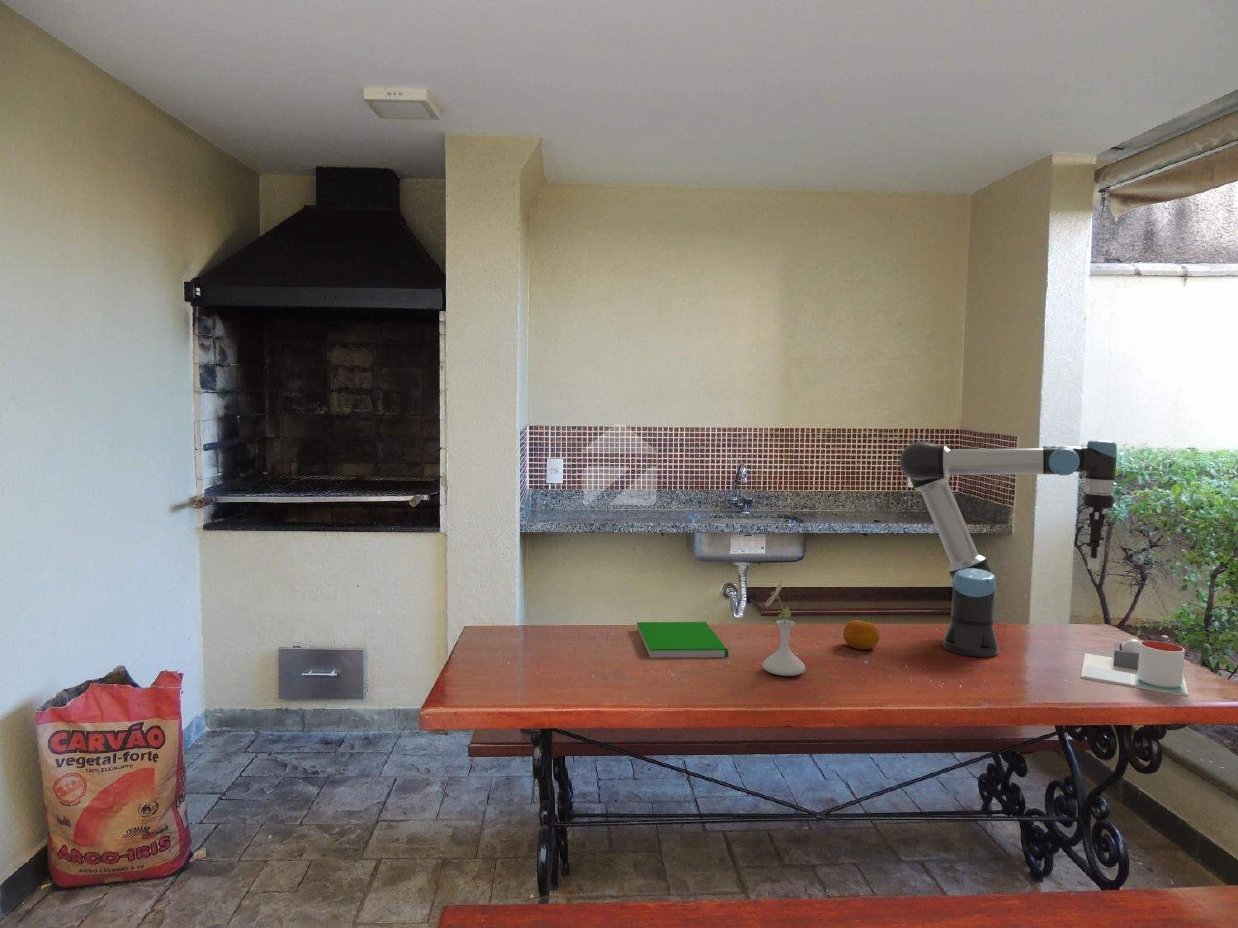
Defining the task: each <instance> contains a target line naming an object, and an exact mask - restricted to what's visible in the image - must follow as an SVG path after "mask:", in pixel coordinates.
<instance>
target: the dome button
mask: <svg viewBox="0 0 1238 928" xmlns="http://www.w3.org/2000/svg"><path fill="white" fill-rule="evenodd" d="M1140 642H1141V640H1139V639H1136V638H1132V639H1128V640H1126V641H1122V642H1121V644H1122V651H1128V652H1135V653H1139V648H1140Z"/></svg>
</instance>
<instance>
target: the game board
mask: <svg viewBox="0 0 1238 928" xmlns="http://www.w3.org/2000/svg"><path fill="white" fill-rule="evenodd" d="M1113 664H1114V657H1110V656H1104V655H1097V654H1092V653H1087V652H1086V653H1084V658H1083V665H1082V670H1081V676H1080V678H1081V679H1085V680H1090V681H1095V682H1101V683H1109V684H1113V685H1118V686H1125V687H1131V688H1137V689H1143V690H1148V691H1154V692H1160V693H1164V694H1165V693H1167V694H1173V695H1179V696H1183V697H1188V696H1189V692H1188V688H1187V683H1186V678H1185V674H1184V672H1183V679H1182V684H1181V685H1180V686H1179V687H1176V688H1163V687H1157V686H1153V685H1149V684H1146V683H1144V682H1142V681H1141V680H1140V679H1139V678H1138V670H1134V669H1128V668H1122V667H1116V666H1113Z"/></svg>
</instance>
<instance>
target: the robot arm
mask: <svg viewBox="0 0 1238 928" xmlns="http://www.w3.org/2000/svg"><path fill="white" fill-rule="evenodd" d="M1117 445H1118V444H1117V443H1116V442H1114V441H1112V440H1111V441H1110V440H1095V439H1094V440H1092V439H1091V440H1089V441H1088V442H1087V444H1086V446H1073V445H1055V444H1054V445H1053V444H1052V445H1043V446H1042V447H1038V448H1037V447H1036V448H1032V447H1031V448H1027V447H1025V448H1023V447H1022V448H1021V447H1020V448H962V449H961V448H956V449H955V448H953V449H950V448H949V447H947V446H946V445H937V444H936V443H935V442H932V441H928V440H920V441H915V442H914V443H911V444H909V445H908V446H906V447H905V448H904V449H903V450H902V452H901V454H900V456H899V467H900V469H901V471H902V473H903V474H904V475H905V476H907V477H908V478H909V480H910V482H911V484H912V488H913V489H914V490H915V491H918V492H919V493H921V496H922V498H923V501H924V504H925V505H926V508H927V510H928V512H929V515H930V517H931V519H932V523H933V524H934V526H935V529H936V531H937V534H938V536H939V539H940V540H941V543H942V546H943V548H944V551H945V552H946V555H947V557H948V559H949V562H950V565H949V567H948V568H947V569H948V572H949V575H950V577H951V580H952V596H951V598H952V599H951V617H950V623H949V626H948V628H947V630H946V632H945V635H944V637H943V643H942V645H943V646H942V647H943V648H944V649H945V650H946V651H949V652H951V653H953V654H958V655H961V656H969V657H975V658H976V657H977V658H990V657H995V656H997V655H999V643H998V640H997V637H996V636H997V635H996V632H995V630H994V619H995V618H994V615H995V605H996V604H995V602H996V596H997V593H998V590H999V583H998V578H997V577H996V575H995V573H994V572H993V571H992V570H991V568H990V565H989V562H988V559H987V558H986V557H985V556H983V555H981V554H979V553H978V550H977V548H976V545H975V542H974V540H973V538H972V536H971V534H970V531H969V528H968V527H967V524H966V522H965V519H964V518H963V515H962V513H961V510H960V507H959V506H958V503H957V501H956V498H955V495H954V493H953V491H952V489H951V486H950V484H949V480H950V478H951V476H953V475H957V476H958V475H959V476H960V475H961V476H962V475H966V476H967V475H971V476H972V475H973V476H974V475H975V476H976V475H1058V476H1069V475H1072V474H1074V473H1085V477H1084V486H1083V487H1084V489H1083V491H1084V492H1086V493H1084V494H1083V504H1082V505H1083V506H1084V507H1088V508H1092V511H1090V512H1089V517H1088V519H1089V528H1090V536H1089V542H1086V547H1088V555H1087V570H1088V569H1089V570H1096V571H1098V570H1099V565H1100V563H1101V551H1102V550H1101V548H1102V541H1105V540H1104V539H1105V537H1104V536H1103V533H1102V531H1103V530H1102V528H1104V523H1105V519H1106V513H1103V512H1104V509H1112V508H1113V506H1114V498H1115V497H1114V496H1113V495H1112V494H1114V491H1115V487H1117V486H1118V485H1117V484H1118V483H1116V482H1115V479H1116V470H1117V459H1118V458H1117V452H1118V451H1117V449H1118V447H1117Z"/></svg>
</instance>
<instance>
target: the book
mask: <svg viewBox="0 0 1238 928" xmlns="http://www.w3.org/2000/svg"><path fill="white" fill-rule="evenodd" d="M636 625H637V631H638V633H639V636H640V638H641V639H642V642H643V644H644V646H645V649H646V651H647V653H648V655H649V657H650V658H729V650H728V648H727V647H726V646H725V645H724V643H723V642H722V640H720V638H719V637H718V636H717V634H716V633H715V631H714V630H713V629H712V628H711V627H710V625H709V624H708V623H707V622H706V621H655V622H654V621H650V622H649V621H648V622H647V621H646V622H645V621H637V622H636Z"/></svg>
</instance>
